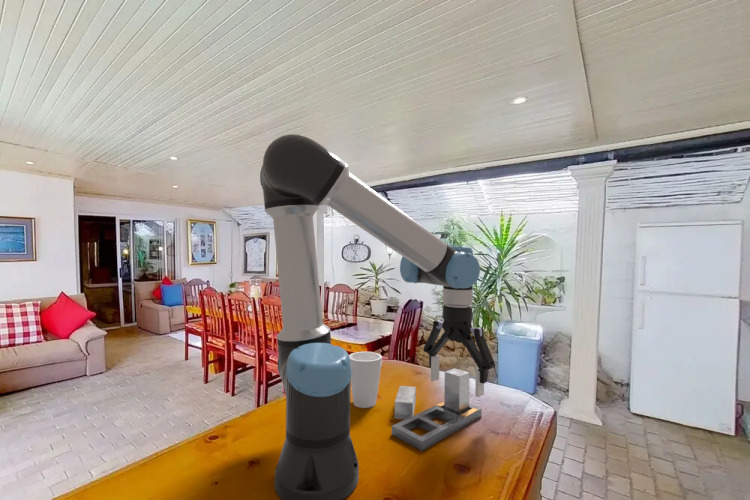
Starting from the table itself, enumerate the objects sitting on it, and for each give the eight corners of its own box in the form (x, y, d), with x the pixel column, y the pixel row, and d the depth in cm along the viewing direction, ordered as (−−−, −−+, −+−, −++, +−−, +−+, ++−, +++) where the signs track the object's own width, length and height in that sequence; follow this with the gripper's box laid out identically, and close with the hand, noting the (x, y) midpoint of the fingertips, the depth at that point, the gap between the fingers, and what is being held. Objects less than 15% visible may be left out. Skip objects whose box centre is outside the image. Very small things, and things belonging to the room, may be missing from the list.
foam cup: (382, 397, 100) (383, 352, 100) (380, 411, 91) (380, 362, 91) (350, 395, 101) (351, 351, 101) (344, 409, 92) (345, 360, 92)
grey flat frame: (422, 451, 73) (422, 440, 73) (391, 434, 79) (391, 425, 79) (481, 416, 89) (481, 407, 89) (452, 405, 95) (452, 397, 95)
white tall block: (459, 420, 86) (459, 376, 86) (444, 414, 89) (444, 371, 89) (469, 415, 89) (469, 372, 89) (454, 409, 92) (454, 368, 92)
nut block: (412, 421, 86) (412, 403, 86) (394, 419, 87) (394, 401, 87) (415, 403, 97) (415, 387, 97) (399, 401, 98) (399, 385, 98)
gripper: (510, 310, 83) (509, 398, 82) (428, 299, 101) (427, 371, 101) (495, 313, 78) (493, 407, 77) (411, 301, 96) (410, 377, 96)
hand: (456, 387), depth 89 cm, fingers open, 13 cm apart
